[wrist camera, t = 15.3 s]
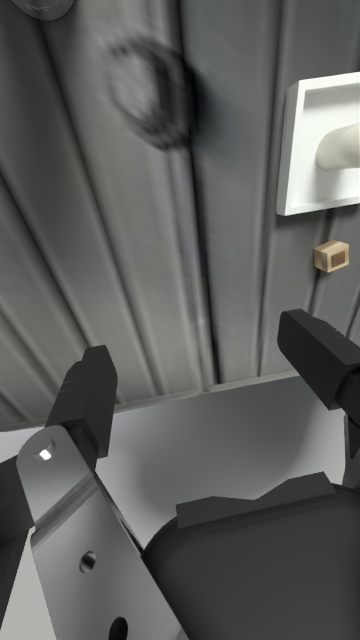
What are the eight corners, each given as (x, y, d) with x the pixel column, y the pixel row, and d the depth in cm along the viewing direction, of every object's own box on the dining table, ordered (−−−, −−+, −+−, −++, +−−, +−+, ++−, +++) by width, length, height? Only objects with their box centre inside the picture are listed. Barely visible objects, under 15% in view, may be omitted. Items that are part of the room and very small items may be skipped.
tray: (286, 89, 31) (299, 80, 29) (393, 73, 32) (415, 64, 29) (275, 213, 40) (284, 215, 37) (360, 199, 40) (375, 200, 38)
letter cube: (313, 248, 44) (327, 254, 41) (333, 239, 44) (350, 244, 40) (314, 266, 46) (328, 273, 43) (334, 257, 46) (350, 263, 42)
